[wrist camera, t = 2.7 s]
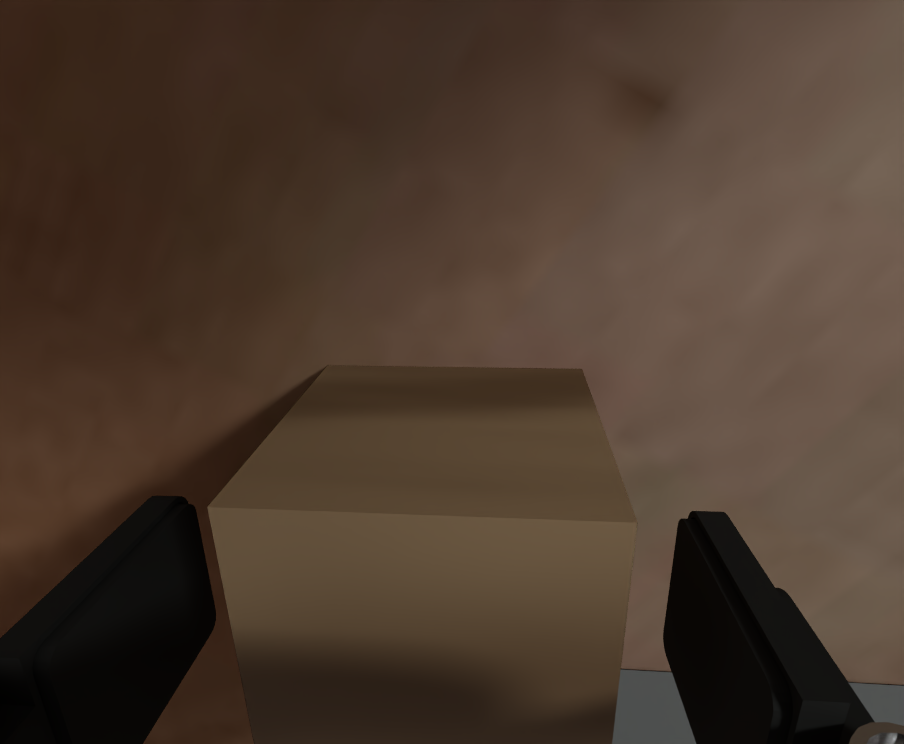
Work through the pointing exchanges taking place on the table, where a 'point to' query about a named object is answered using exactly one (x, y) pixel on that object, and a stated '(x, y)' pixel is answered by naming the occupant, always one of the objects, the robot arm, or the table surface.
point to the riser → (665, 721)
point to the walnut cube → (430, 561)
